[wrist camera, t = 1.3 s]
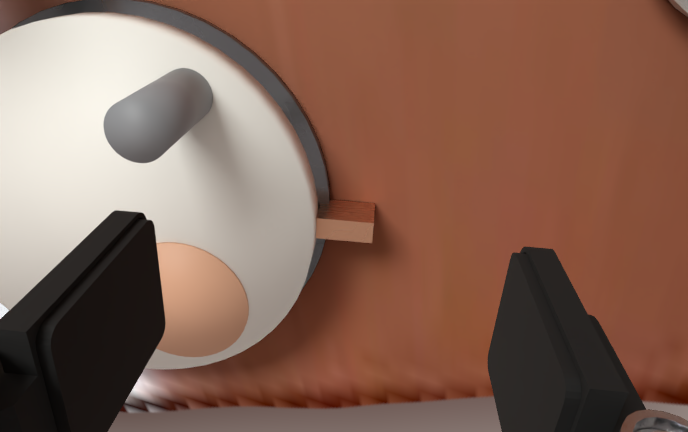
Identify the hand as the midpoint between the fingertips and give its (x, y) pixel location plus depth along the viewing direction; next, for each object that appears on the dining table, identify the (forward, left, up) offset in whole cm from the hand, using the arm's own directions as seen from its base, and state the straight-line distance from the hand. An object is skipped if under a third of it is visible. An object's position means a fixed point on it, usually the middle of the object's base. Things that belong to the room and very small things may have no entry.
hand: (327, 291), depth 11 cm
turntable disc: (+12, +7, -16) cm, 21 cm away
